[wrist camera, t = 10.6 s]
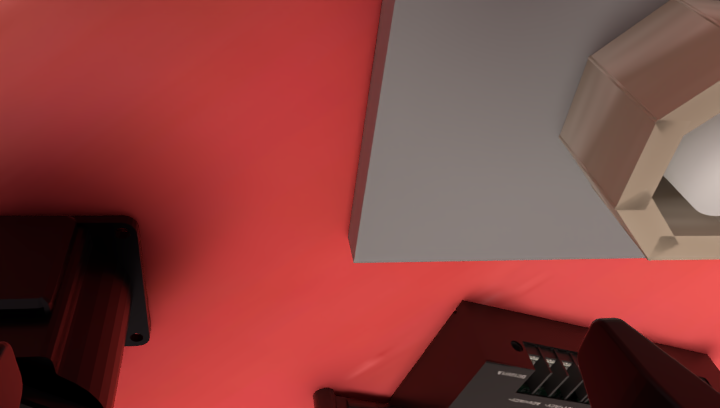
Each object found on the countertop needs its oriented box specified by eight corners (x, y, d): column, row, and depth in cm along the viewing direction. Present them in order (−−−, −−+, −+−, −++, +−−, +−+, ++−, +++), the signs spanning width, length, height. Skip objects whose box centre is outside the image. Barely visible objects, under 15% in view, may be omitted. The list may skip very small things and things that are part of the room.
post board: (777, 233, 28) (874, 324, 24) (347, 236, 24) (372, 346, 20) (1004, -99, 20) (1215, -51, 16) (408, -176, 16) (470, -139, 12)
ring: (709, 188, 24) (781, 259, 21) (539, 185, 22) (589, 261, 19) (813, 7, 20) (922, 62, 16) (612, -10, 18) (691, 45, 15)
